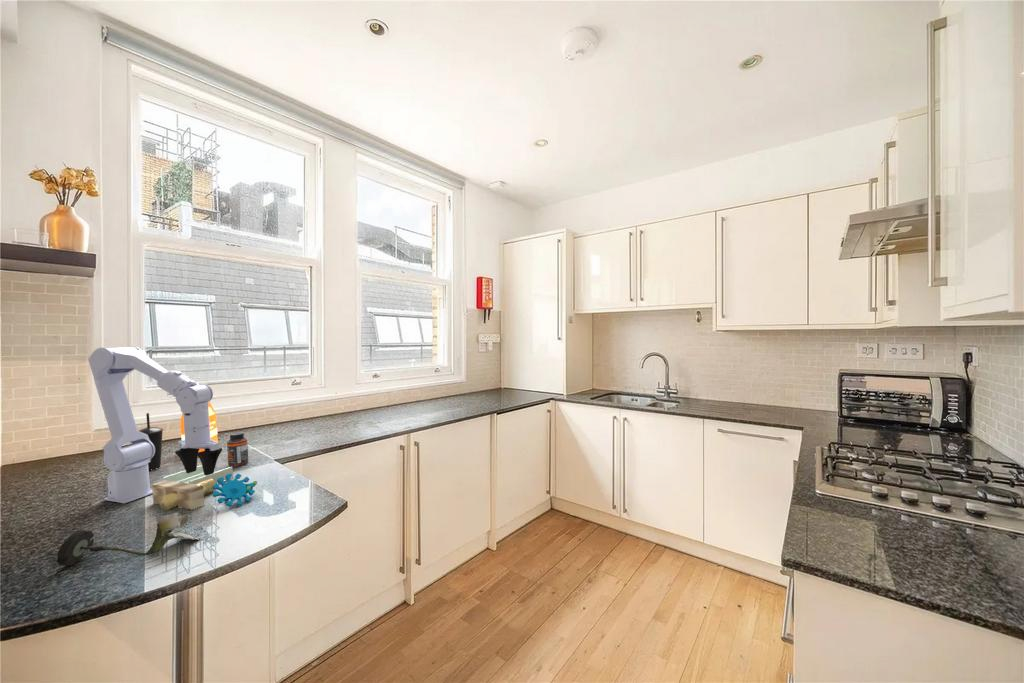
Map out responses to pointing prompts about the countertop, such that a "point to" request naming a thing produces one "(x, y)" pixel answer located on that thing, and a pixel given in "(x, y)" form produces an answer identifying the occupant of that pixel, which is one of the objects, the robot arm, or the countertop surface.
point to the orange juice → (212, 425)
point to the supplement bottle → (237, 449)
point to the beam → (180, 493)
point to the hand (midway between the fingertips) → (200, 473)
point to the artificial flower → (81, 542)
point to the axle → (172, 498)
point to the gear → (233, 490)
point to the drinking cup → (156, 439)
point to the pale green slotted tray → (198, 475)
